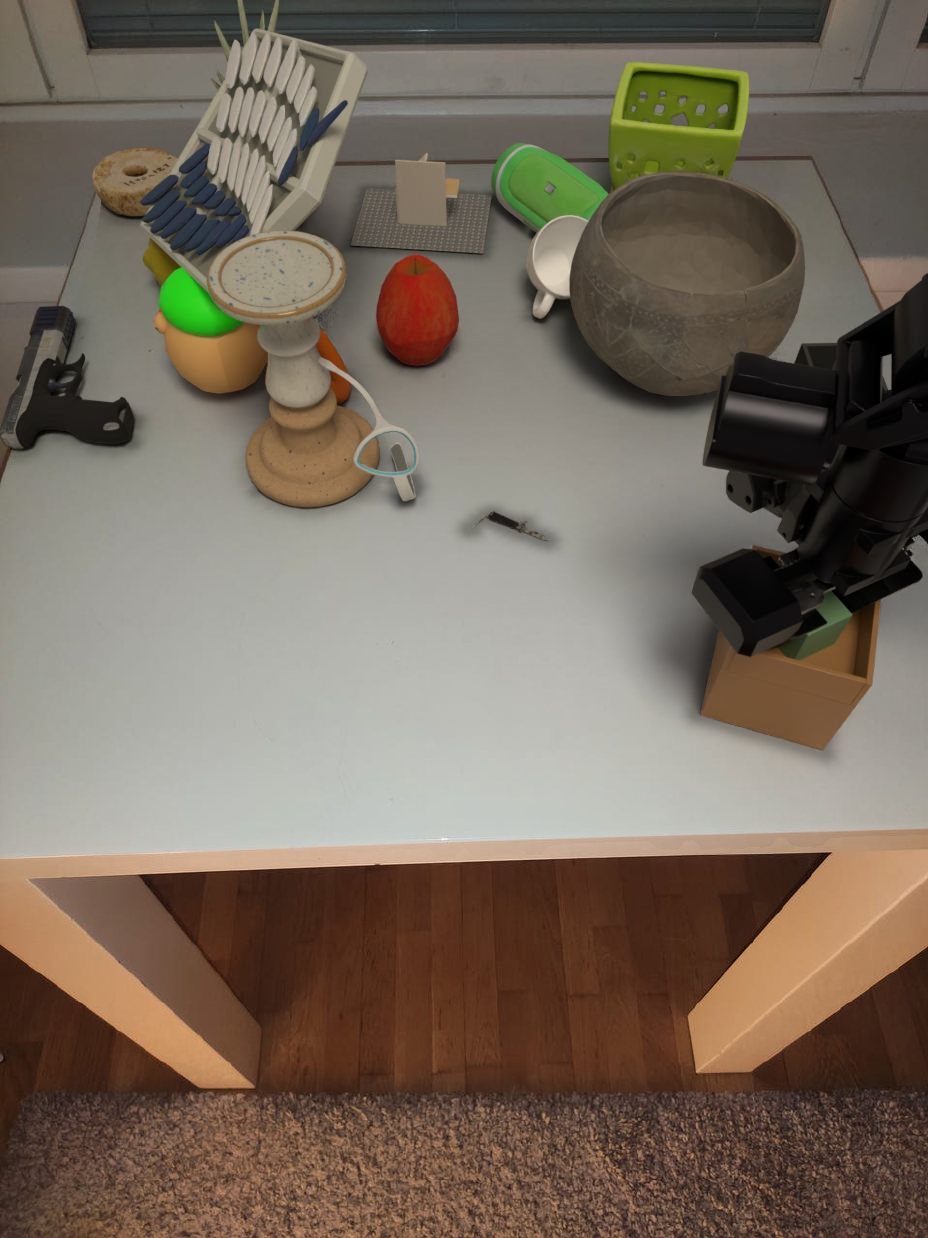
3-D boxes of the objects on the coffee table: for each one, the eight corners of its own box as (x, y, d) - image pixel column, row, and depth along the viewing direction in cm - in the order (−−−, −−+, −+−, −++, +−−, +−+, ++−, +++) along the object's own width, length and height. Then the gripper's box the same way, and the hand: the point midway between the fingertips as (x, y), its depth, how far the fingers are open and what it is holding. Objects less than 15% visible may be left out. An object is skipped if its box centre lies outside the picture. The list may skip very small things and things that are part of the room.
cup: (597, 248, 98) (619, 237, 92) (559, 336, 99) (578, 331, 93) (534, 214, 96) (552, 200, 90) (496, 304, 98) (511, 297, 91)
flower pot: (725, 180, 110) (753, 69, 99) (716, 249, 102) (745, 136, 92) (610, 166, 111) (625, 55, 101) (592, 232, 104) (607, 120, 93)
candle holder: (313, 393, 89) (278, 202, 73) (407, 452, 85) (392, 262, 68) (219, 465, 84) (157, 277, 67) (314, 531, 80) (273, 347, 63)
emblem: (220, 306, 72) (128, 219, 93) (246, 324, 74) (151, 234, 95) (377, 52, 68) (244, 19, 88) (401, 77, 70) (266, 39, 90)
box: (836, 650, 73) (883, 577, 65) (823, 750, 68) (872, 685, 60) (721, 619, 75) (752, 544, 67) (700, 715, 70) (731, 646, 62)
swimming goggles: (310, 363, 72) (375, 338, 71) (320, 352, 80) (379, 330, 79) (377, 525, 77) (438, 502, 77) (380, 500, 85) (436, 480, 84)
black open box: (873, 451, 85) (896, 408, 81) (804, 453, 85) (824, 409, 81) (849, 386, 90) (869, 341, 85) (784, 387, 90) (801, 343, 85)
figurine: (297, 366, 92) (276, 262, 82) (238, 426, 87) (209, 323, 77) (208, 330, 95) (177, 225, 85) (146, 386, 90) (106, 282, 80)
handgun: (130, 449, 86) (1, 456, 85) (155, 318, 97) (41, 324, 96) (120, 425, 83) (-13, 432, 83) (147, 293, 94) (29, 299, 94)
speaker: (628, 195, 93) (577, 254, 94) (648, 235, 99) (600, 289, 101) (522, 122, 101) (476, 178, 102) (546, 163, 107) (503, 215, 109)
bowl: (813, 372, 91) (868, 236, 78) (663, 466, 84) (697, 334, 71) (666, 269, 100) (694, 133, 88) (519, 346, 93) (527, 210, 81)
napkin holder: (401, 205, 107) (397, 143, 101) (460, 209, 107) (459, 146, 100) (397, 223, 105) (393, 160, 99) (457, 226, 105) (456, 163, 98)
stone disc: (204, 195, 109) (158, 166, 113) (196, 164, 106) (149, 135, 110) (129, 230, 104) (84, 198, 109) (118, 199, 101) (73, 167, 106)
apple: (474, 361, 92) (475, 268, 83) (402, 389, 90) (394, 297, 81) (436, 315, 96) (433, 222, 87) (365, 341, 94) (355, 248, 85)
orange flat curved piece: (333, 362, 93) (232, 255, 82) (347, 353, 93) (246, 244, 81) (346, 424, 87) (239, 318, 76) (361, 415, 87) (254, 307, 76)
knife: (537, 559, 79) (553, 534, 80) (537, 557, 78) (553, 531, 80) (471, 529, 80) (487, 505, 82) (471, 526, 80) (487, 502, 81)
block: (801, 605, 67) (817, 574, 64) (834, 644, 65) (853, 614, 62) (759, 624, 66) (773, 594, 63) (791, 664, 64) (808, 635, 61)
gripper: (911, 351, 59) (830, 509, 72) (666, 445, 54) (628, 595, 67) (1042, 466, 53) (928, 615, 66) (781, 581, 49) (715, 716, 62)
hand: (798, 630), depth 65 cm, fingers closed on block, 4 cm apart
